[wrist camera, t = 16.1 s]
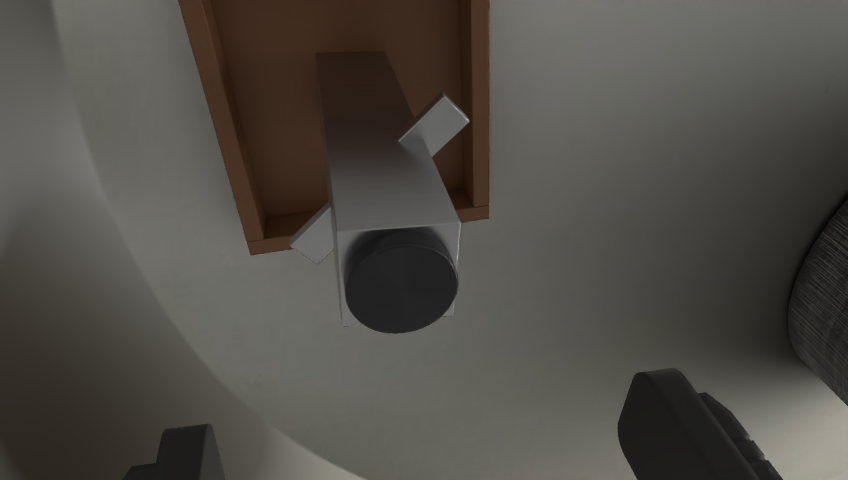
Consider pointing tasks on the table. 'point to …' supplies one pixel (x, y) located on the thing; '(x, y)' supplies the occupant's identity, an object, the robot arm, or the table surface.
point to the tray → (299, 104)
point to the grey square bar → (384, 197)
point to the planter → (824, 306)
